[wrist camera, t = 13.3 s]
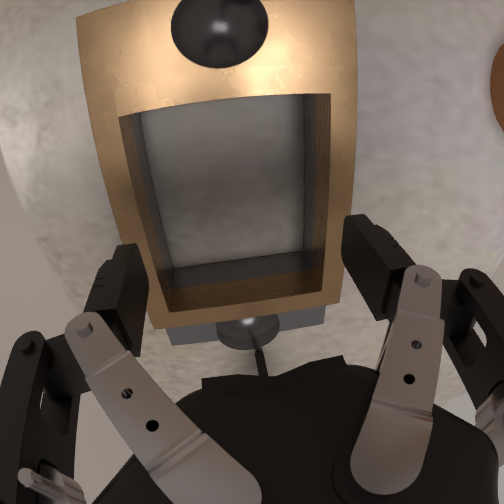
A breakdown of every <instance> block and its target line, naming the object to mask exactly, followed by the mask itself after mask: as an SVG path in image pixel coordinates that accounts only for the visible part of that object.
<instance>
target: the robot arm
mask: <svg viewBox="0 0 504 504" xmlns="http://www.w3.org/2000/svg"><path fill="white" fill-rule="evenodd" d="M341 257H342V261H343V264H344V266H345V267H346V269H347V271H348V272H349V274H350V276H351V277H352V279H353V281H354V283H355V284H356V286H357V288H358V289H359V291H360V293H361V295H362V296H363V298H364V300H365V302H366V303H367V305H368V307H369V309H370V311H371V312H372V314H373V316H374V318H375V320H376V321H380V320H384V319H388V320H389V325H388V328H387V332H386V335H385V339H384V342H383V345H382V349H381V352H380V355H379V358H378V362H377V365H376V368H375V370H374V369H371V368H367V367H364V366H359V365H346V363H345V360H344V358H343V355H340V356H336V357H331V358H327V359H322V360H317V361H312V362H309V363H306V364H304V365H302V366H299V367H297V368H295V369H293V370H290V371H288V372H285V373H283V374H281V375H278V376H255V375H240V374H235V375H227V376H219V377H211V378H202V389H200V390H197V391H195V392H193V393H190V394H188V395H187V396H185V397H183V398H182V399H181V400H179V401H178V402H177V403H174V402H173V401H172V400H171V399H170V398H169V397H168V396H167V395H166V393H165V392H164V391H163V390H162V389H161V388H160V387H159V386H158V384H157V383H156V382H155V381H154V380H153V379H152V378H151V376H150V375H149V374H148V373H147V372H146V370H145V369H144V368H143V367H142V366H141V364H140V363H139V362H138V361H137V360H136V358H135V357H140V351H141V343H142V335H143V328H144V321H145V314H146V307H147V301H148V295H149V280H148V275H147V272H146V269H145V266H144V263H143V260H142V256H141V253H140V250H139V247H138V245H137V244H136V243H131V244H125V245H118V246H117V247H116V250H115V252H114V255H113V258H112V259H111V260H106V261H105V263H104V264H103V265H102V266H101V267H100V268H99V270H98V272H97V275H96V278H95V280H94V283H93V286H92V287H93V288H91V291H90V294H89V297H88V300H87V303H86V305H85V308H84V311H83V313H81V314H79V315H77V316H75V317H74V318H73V319H72V320H71V321H70V322H69V323H68V324H67V326H66V328H65V333H64V334H62V335H59V336H56V337H54V338H51V339H48V340H46V339H45V338H44V336H43V335H42V334H41V333H40V332H38V331H30V332H27V333H25V334H23V335H22V336H20V337H19V338H18V339H17V341H16V342H15V344H14V346H13V348H12V351H11V354H10V357H9V360H8V363H7V366H6V369H5V372H4V376H3V379H2V382H1V386H0V504H86V500H85V498H84V493H83V490H82V489H81V487H80V485H79V484H78V483H77V482H76V481H75V480H74V458H75V443H76V431H77V421H78V411H79V403H80V395H81V394H82V393H85V392H88V391H92V392H93V394H94V395H95V397H96V399H97V400H98V402H99V404H100V405H101V407H102V408H103V410H104V411H105V413H106V414H107V416H108V417H109V419H110V421H111V422H112V423H113V425H114V427H115V428H116V429H117V431H118V432H119V434H120V435H121V437H122V438H123V439H124V441H125V442H126V444H127V445H128V446H129V448H130V449H131V450H132V452H133V453H134V454H133V455H132V456H131V457H130V459H129V460H128V461H127V462H126V463H125V465H124V466H123V467H122V468H121V470H120V471H119V472H118V473H117V474H116V475H115V477H114V478H113V479H112V480H111V481H110V483H109V484H108V485H107V486H106V487H105V489H104V490H103V491H102V492H101V494H100V495H99V496H98V497H97V498H96V499H95V500H94V502H93V503H92V504H499V501H498V471H499V467H501V466H502V465H504V296H503V294H502V293H501V292H500V290H499V289H498V288H497V287H496V285H495V284H494V283H493V282H492V280H491V279H490V278H489V277H488V276H487V275H486V274H485V273H483V272H481V271H479V270H477V269H472V268H468V269H464V270H463V271H462V272H461V274H460V277H459V279H458V280H445V279H441V277H440V275H439V274H438V273H437V272H436V271H435V270H433V269H432V268H429V267H427V266H423V265H416V264H415V262H414V261H413V260H412V259H411V258H410V256H409V255H408V254H407V253H406V252H405V250H404V249H403V248H402V247H401V246H399V243H398V242H397V241H396V240H394V238H393V237H392V235H391V234H390V233H389V232H388V231H387V230H385V229H384V228H382V227H380V226H378V225H374V224H373V223H372V222H371V221H370V220H369V218H368V217H367V216H366V215H365V214H358V215H349V216H346V217H345V218H344V224H343V234H342V243H341ZM476 321H477V322H478V324H479V325H480V326H481V328H482V329H483V331H484V333H485V335H486V339H487V343H486V347H484V345H483V343H482V342H481V340H480V338H479V337H478V335H477V334H476V332H475V330H474V329H473V327H474V325H475V323H476ZM442 345H444V347H445V349H446V351H447V353H448V355H449V356H450V358H451V360H452V362H453V364H454V366H455V368H456V370H457V372H458V374H459V376H460V378H461V380H462V381H463V384H464V386H465V388H466V390H467V392H468V394H469V396H470V398H471V400H472V402H473V404H474V406H475V409H476V411H477V412H476V415H475V422H476V425H475V426H473V425H472V424H470V423H468V422H466V421H464V420H463V419H461V418H459V417H457V416H455V415H453V414H452V413H450V412H448V411H446V410H445V409H443V408H441V407H439V406H437V405H436V404H434V398H435V392H436V387H437V381H438V375H439V368H440V361H441V353H442ZM42 392H44V393H43V398H42V403H41V409H40V402H41V396H42Z"/></svg>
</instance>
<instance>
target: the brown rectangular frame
mask: <svg viewBox="0 0 504 504" xmlns="http://www.w3.org/2000/svg"><path fill="white" fill-rule="evenodd" d="M76 26H77V36H78V46H79V54H80V62H81V69H82V76H83V83H84V89H85V95H86V101H87V106H88V112H89V117H90V122H91V127H92V132H93V136H94V141H95V145H96V150H97V154H98V158H99V162H100V166H101V170H102V174H103V178H104V182H105V186H106V190H107V193H108V197H109V200H110V204H111V207H112V211H113V214H114V218H115V221H116V224H117V227H118V231H119V234H120V237H121V240H122V243H123V245H125V244H131V243H136V244H137V245H138V247H139V250H140V253H141V256H142V260H143V263H144V266H145V269H146V272H147V275H148V280H149V295H148V301H147V307H146V310H147V312H148V315H149V317H150V320H151V322H152V325H153V327H154V329H163V328H173V327H182V326H191V325H199V324H207V323H215V322H223V321H230V320H237V319H245V318H251V317H258V316H265V315H271V314H278V313H284V312H290V311H296V310H302V309H308V308H313V307H319V306H324V305H330V304H335V303H339V301H340V294H341V288H342V281H343V274H344V267H345V266H344V264H343V261H342V257H341V243H342V234H343V224H344V218H345V217H346V216H349V215H351V205H352V193H353V181H354V166H355V149H356V126H357V40H356V18H355V3H354V0H133V1H129V2H125V3H121V4H117V5H114V6H110V7H107V8H103V9H100V10H97V11H94V12H90V13H87V14H84V15H82V16H79V17H76ZM309 93H315V105H316V170H315V211H314V236H313V256H312V270H305V271H299V272H292V273H285V274H278V275H271V276H264V277H257V278H250V279H243V280H236V281H229V282H221V283H214V284H206V285H199V286H191V287H183V288H175V289H171V287H170V284H169V280H168V277H167V273H166V270H165V266H164V263H163V259H162V256H161V252H160V248H159V244H158V241H157V237H156V233H155V229H154V225H153V221H152V217H151V213H150V209H149V205H148V201H147V196H146V192H145V188H144V183H143V179H142V174H141V169H140V165H139V160H138V155H137V150H136V145H135V139H134V134H133V129H132V123H131V117H130V114H133V113H137V112H142V111H147V110H152V109H158V108H163V107H169V106H175V105H181V104H187V103H194V102H201V101H209V100H217V99H226V98H236V97H247V96H261V95H278V94H309Z"/></svg>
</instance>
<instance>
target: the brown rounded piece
mask: <svg viewBox="0 0 504 504" xmlns="http://www.w3.org/2000/svg"><path fill="white" fill-rule="evenodd" d="M490 90H491V100H492V105H493V110H494V113H495V116H496V119H497V121H498V123H499V125H500V126H501V128H502V130H503V131H504V44H503V45H502V46H501V47H500V48H499V50H498V52H497V54H496V56H495V58H494V61H493V65H492V70H491V81H490Z"/></svg>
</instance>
